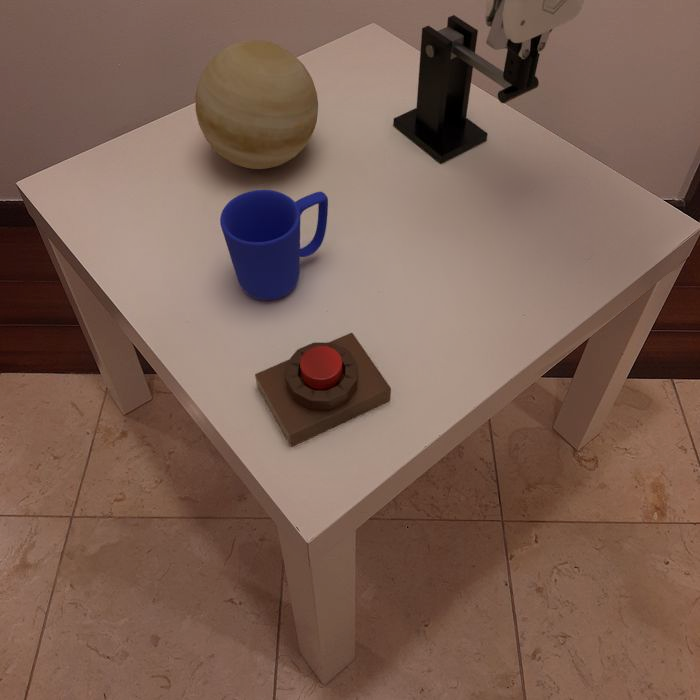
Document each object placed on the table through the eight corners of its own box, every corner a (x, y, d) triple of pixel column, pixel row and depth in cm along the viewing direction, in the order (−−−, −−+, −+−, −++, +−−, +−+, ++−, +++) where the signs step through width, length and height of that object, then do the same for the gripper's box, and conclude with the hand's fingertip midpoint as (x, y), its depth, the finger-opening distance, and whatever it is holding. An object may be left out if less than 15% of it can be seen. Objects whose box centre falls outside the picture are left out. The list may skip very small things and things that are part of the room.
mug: (348, 274, 84) (347, 207, 76) (256, 320, 80) (244, 255, 72) (309, 232, 89) (304, 165, 81) (220, 274, 84) (205, 208, 77)
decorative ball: (190, 140, 99) (167, 35, 87) (292, 108, 103) (283, 4, 91) (231, 208, 91) (211, 102, 79) (340, 171, 95) (337, 65, 83)
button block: (352, 344, 78) (351, 320, 75) (390, 400, 74) (391, 377, 71) (257, 386, 75) (252, 363, 72) (291, 447, 71) (288, 425, 68)
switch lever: (536, 93, 85) (540, 75, 83) (504, 109, 83) (507, 90, 81) (455, 40, 92) (457, 22, 90) (424, 54, 90) (425, 35, 88)
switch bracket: (486, 140, 99) (504, 36, 87) (440, 164, 96) (451, 59, 84) (438, 104, 104) (448, 1, 92) (393, 125, 101) (397, 21, 89)
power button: (330, 350, 73) (330, 339, 72) (349, 379, 71) (349, 368, 70) (294, 366, 72) (292, 355, 71) (312, 396, 70) (311, 386, 69)
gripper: (521, -56, 64) (490, 123, 78) (638, -102, 69) (588, 75, 84) (463, -88, 67) (444, 90, 82) (579, -129, 73) (541, 45, 87)
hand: (517, 82), depth 83 cm, fingers closed
